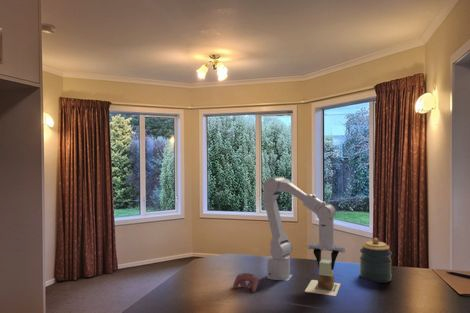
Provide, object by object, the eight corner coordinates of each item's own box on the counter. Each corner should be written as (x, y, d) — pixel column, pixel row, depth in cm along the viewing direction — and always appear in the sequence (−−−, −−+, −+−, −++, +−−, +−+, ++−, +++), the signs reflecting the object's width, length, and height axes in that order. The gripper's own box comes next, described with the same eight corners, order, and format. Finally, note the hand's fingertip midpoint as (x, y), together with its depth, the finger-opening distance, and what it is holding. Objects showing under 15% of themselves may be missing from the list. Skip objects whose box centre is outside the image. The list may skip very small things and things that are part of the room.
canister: (358, 281, 160) (358, 240, 159) (360, 271, 172) (360, 233, 171) (391, 285, 155) (392, 242, 154) (391, 275, 167) (391, 236, 166)
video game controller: (258, 293, 151) (260, 275, 153) (254, 292, 147) (257, 273, 150) (235, 289, 155) (238, 272, 157) (231, 288, 151) (234, 270, 154)
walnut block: (317, 288, 150) (317, 275, 150) (320, 283, 155) (320, 271, 155) (331, 290, 148) (332, 277, 148) (333, 285, 153) (334, 273, 153)
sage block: (319, 274, 150) (319, 262, 150) (321, 271, 154) (321, 259, 154) (330, 276, 148) (330, 263, 148) (332, 273, 152) (332, 260, 152)
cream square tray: (304, 292, 147) (304, 291, 147) (311, 281, 160) (311, 279, 160) (335, 297, 142) (335, 295, 142) (340, 285, 155) (340, 283, 155)
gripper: (306, 235, 150) (306, 269, 151) (343, 238, 145) (343, 273, 145) (309, 231, 157) (309, 263, 157) (345, 234, 151) (345, 268, 152)
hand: (326, 268), depth 152 cm, fingers closed on sage block, 4 cm apart
